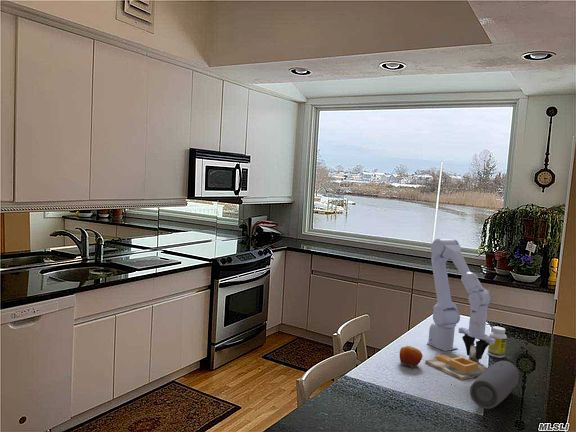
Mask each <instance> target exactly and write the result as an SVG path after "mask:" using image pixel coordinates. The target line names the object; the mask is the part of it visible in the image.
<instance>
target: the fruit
mask: <svg viewBox="0 0 576 432" xmlns="http://www.w3.org/2000/svg"><path fill="white" fill-rule="evenodd" d="M423 357H424V355H423V354H422V351H421V350H420V349H418V348H416V347H414V346H411V345H406V346H402V347H400V350H399V362H400V364H401V365H402V366H407V367H408V366H409V367H410V368H411V369H412V370H413V368H414V367H417V366H419V364H420V363H421V361H422V360H423Z"/></svg>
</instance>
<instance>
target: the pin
mask: <svg viewBox="0 0 576 432" xmlns="http://www.w3.org/2000/svg"><path fill="white" fill-rule="evenodd" d="M476 355H477V346H476V343H474V344H470V352H469V356H468V359H469V360H471V361H474V362H476V363H479V362H480V359H479V360H478V359H477V358H476Z"/></svg>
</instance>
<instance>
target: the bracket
mask: <svg viewBox="0 0 576 432" xmlns="http://www.w3.org/2000/svg"><path fill="white" fill-rule="evenodd" d="M435 358H436V359H438V360H440V361H442V362H445V363H448V364H449V366H450V367H453V368H455V369H457V370H459V371H461V372H464V373H468V372H471V371H475V370H477V369H478V364H479V362H477V363H476V362H474V361H471V360H469V358H466V357H463V356H460V357H458V358H454V359H453V358H451V357H448V356H447V355H445V354H444V353H441V354H437V355H435Z"/></svg>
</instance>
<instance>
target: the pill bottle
mask: <svg viewBox="0 0 576 432" xmlns="http://www.w3.org/2000/svg"><path fill="white" fill-rule="evenodd" d="M505 333H506V328H505V327H501V326H496V325H495V326H492V331H491V332H490V333H489V335H488V336H489V337H491V338H493V339H495V344H493V345H490V344H489V345H488V346H487V354H488V355H489V356H491V357H493V358H498V359H499V358H501V359H502V358H505V356H506V346H507V335H506V334H505Z"/></svg>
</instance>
